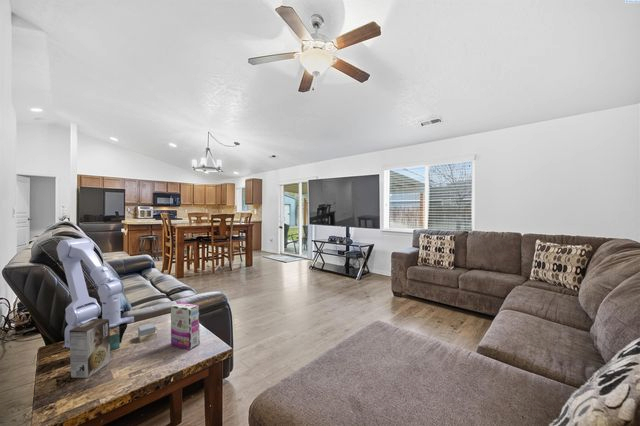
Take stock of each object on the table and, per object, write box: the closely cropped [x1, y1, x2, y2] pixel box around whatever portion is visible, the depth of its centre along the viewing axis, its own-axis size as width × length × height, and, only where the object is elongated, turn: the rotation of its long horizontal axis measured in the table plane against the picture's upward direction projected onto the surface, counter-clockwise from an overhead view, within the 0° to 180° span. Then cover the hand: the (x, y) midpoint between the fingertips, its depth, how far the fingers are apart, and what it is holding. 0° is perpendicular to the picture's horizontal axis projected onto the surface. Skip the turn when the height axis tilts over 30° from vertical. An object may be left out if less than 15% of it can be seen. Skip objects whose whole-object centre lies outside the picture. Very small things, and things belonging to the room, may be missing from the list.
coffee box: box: [69, 318, 112, 379], centre depth 90 cm, size 9×6×16 cm
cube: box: [110, 332, 121, 352], centre depth 104 cm, size 4×4×4 cm
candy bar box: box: [170, 301, 200, 350], centre depth 106 cm, size 11×5×16 cm, turn 68°
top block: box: [137, 322, 157, 337], centre depth 112 cm, size 6×6×2 cm
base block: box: [137, 331, 158, 343], centre depth 112 cm, size 6×6×2 cm
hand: (112, 344), depth 104 cm, fingers closed on cube, 4 cm apart
